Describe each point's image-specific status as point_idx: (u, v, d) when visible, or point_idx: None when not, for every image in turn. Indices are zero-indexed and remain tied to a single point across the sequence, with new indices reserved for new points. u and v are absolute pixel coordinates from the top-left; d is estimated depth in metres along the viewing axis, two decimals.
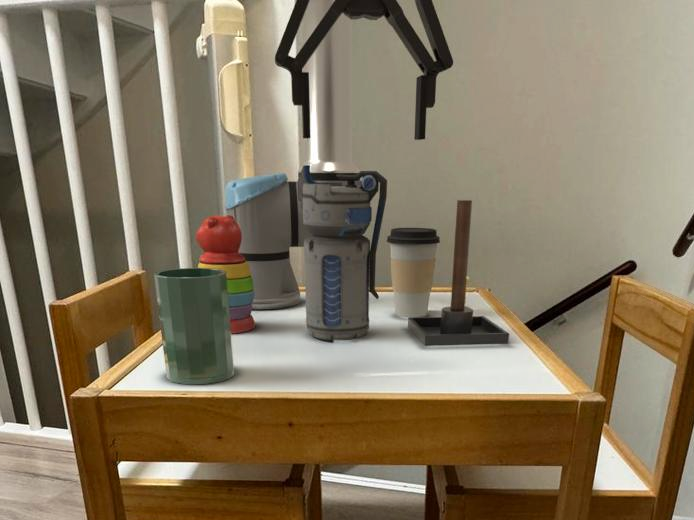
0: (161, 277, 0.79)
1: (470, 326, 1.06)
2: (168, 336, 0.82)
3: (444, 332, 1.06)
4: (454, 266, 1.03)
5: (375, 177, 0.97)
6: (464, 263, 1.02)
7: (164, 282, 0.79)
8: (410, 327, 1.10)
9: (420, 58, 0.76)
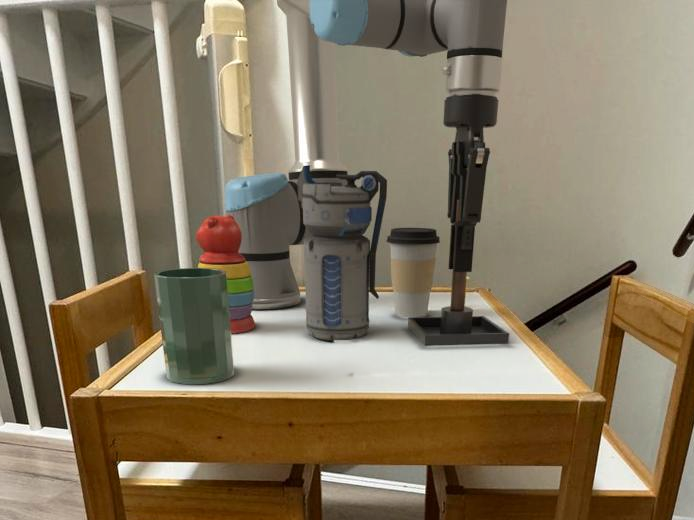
0: (161, 277, 0.79)
1: (470, 326, 1.06)
2: (168, 336, 0.82)
3: (444, 332, 1.06)
4: None
5: (375, 177, 0.97)
6: None
7: (164, 282, 0.79)
8: (410, 327, 1.10)
9: (459, 210, 0.98)
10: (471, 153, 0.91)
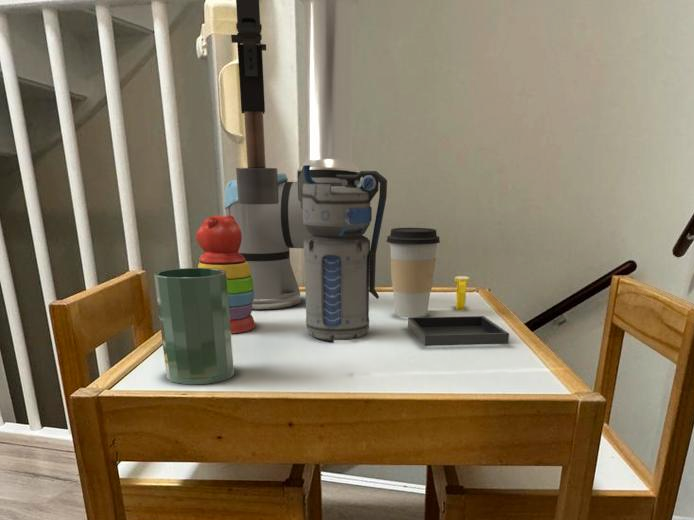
0: (161, 277, 0.79)
1: (273, 189, 0.81)
2: (168, 336, 0.82)
3: (240, 198, 0.82)
4: None
5: (375, 177, 0.97)
6: None
7: (164, 282, 0.79)
8: (410, 327, 1.10)
9: None
10: None
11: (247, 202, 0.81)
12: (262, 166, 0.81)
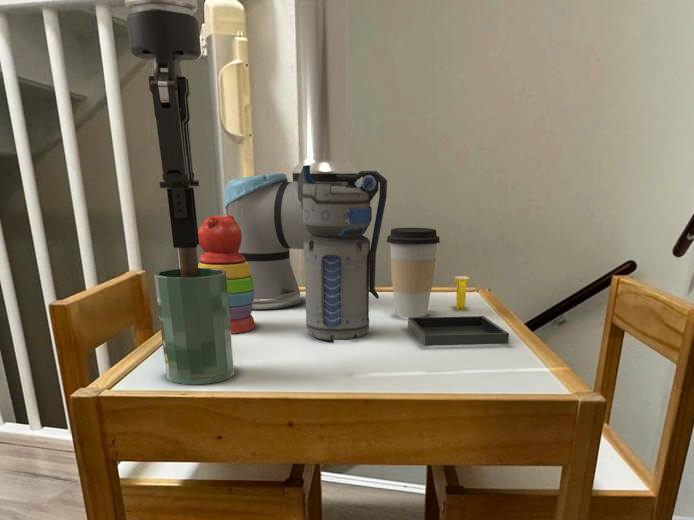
0: (161, 277, 0.79)
1: None
2: (168, 336, 0.82)
3: None
4: None
5: (375, 177, 0.97)
6: None
7: (164, 282, 0.79)
8: (410, 327, 1.10)
9: None
10: (151, 88, 0.69)
11: None
12: None
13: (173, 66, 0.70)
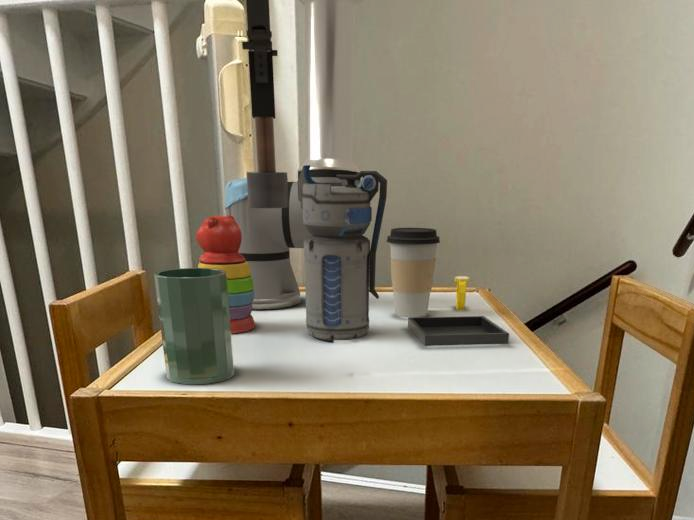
0: (161, 277, 0.79)
1: (283, 193, 0.82)
2: (168, 336, 0.82)
3: (250, 202, 0.83)
4: None
5: (375, 177, 0.97)
6: None
7: (164, 282, 0.79)
8: (410, 327, 1.10)
9: None
10: None
11: (257, 206, 0.82)
12: (272, 170, 0.82)
13: None
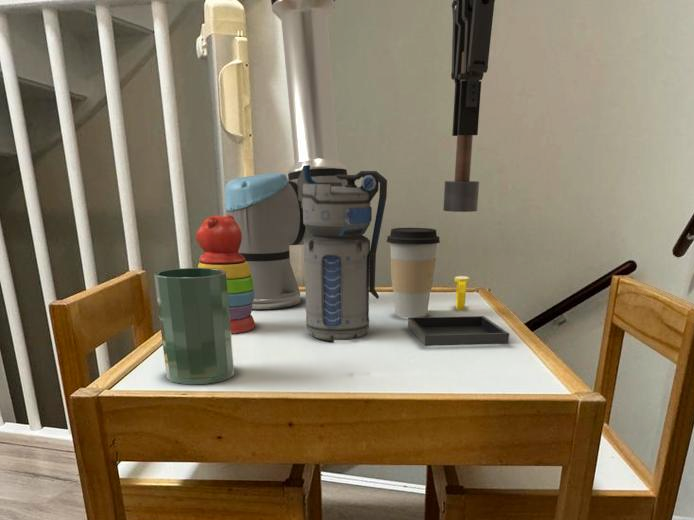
0: (161, 277, 0.79)
1: (476, 199, 0.97)
2: (168, 336, 0.82)
3: (448, 206, 0.97)
4: None
5: (375, 177, 0.97)
6: None
7: (164, 282, 0.79)
8: (410, 327, 1.10)
9: (464, 61, 0.89)
10: None
11: (454, 210, 0.97)
12: (468, 180, 0.97)
13: None
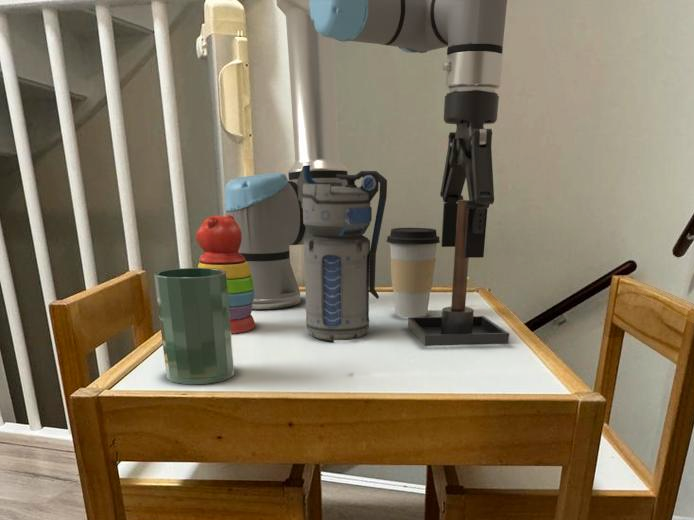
0: (161, 277, 0.79)
1: (471, 326, 1.06)
2: (168, 336, 0.82)
3: (445, 332, 1.06)
4: (455, 266, 1.03)
5: (375, 177, 0.97)
6: (465, 263, 1.02)
7: (164, 282, 0.79)
8: (410, 327, 1.10)
9: (469, 195, 0.93)
10: (473, 133, 0.89)
11: None
12: (463, 309, 1.05)
13: None
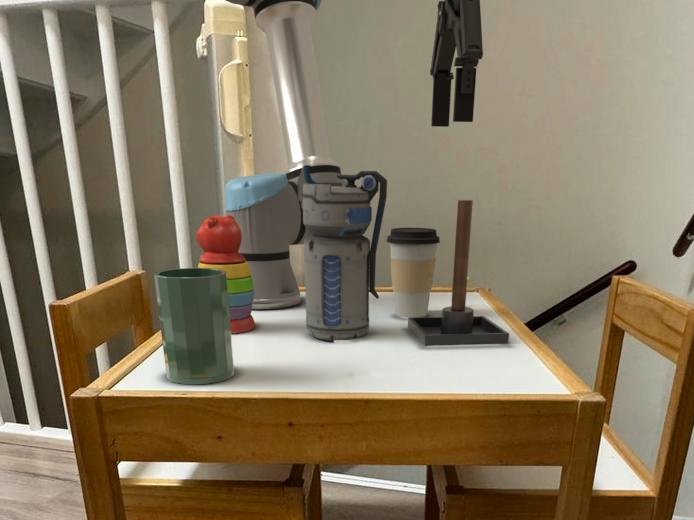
0: (161, 277, 0.79)
1: (471, 326, 1.06)
2: (168, 336, 0.82)
3: (445, 332, 1.06)
4: (455, 266, 1.03)
5: (375, 177, 0.97)
6: (465, 263, 1.02)
7: (164, 282, 0.79)
8: (410, 327, 1.10)
9: (457, 54, 0.91)
10: None
11: None
12: (463, 309, 1.05)
13: None
